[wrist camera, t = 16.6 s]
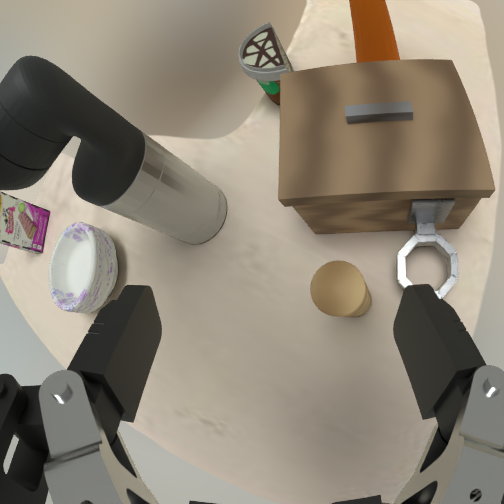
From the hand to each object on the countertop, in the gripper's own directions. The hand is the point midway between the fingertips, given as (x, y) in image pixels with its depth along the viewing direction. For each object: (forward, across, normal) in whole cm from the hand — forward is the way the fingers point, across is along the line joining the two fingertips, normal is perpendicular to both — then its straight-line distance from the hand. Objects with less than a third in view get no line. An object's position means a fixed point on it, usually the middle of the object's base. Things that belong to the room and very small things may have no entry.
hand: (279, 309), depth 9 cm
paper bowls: (+34, +30, +22) cm, 51 cm away
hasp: (+18, -17, +10) cm, 26 cm away
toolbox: (+28, -14, +4) cm, 32 cm away
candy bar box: (+50, +57, +21) cm, 78 cm away
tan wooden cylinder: (+19, -10, +16) cm, 27 cm away
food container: (+44, -2, -6) cm, 44 cm away
